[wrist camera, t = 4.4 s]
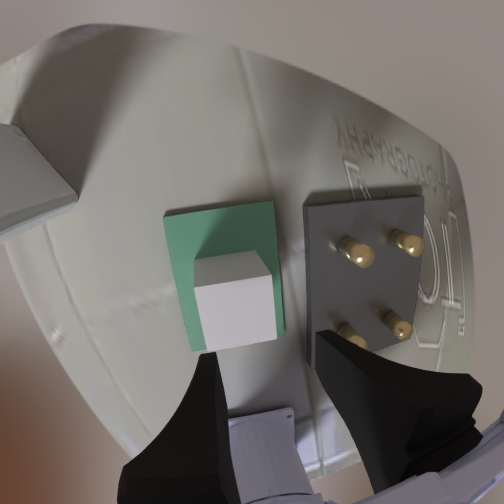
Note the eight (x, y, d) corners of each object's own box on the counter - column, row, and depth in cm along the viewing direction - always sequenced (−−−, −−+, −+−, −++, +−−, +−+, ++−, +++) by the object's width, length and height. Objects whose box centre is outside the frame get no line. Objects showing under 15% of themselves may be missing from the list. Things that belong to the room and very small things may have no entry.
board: (281, 329, 23) (302, 371, 18) (191, 345, 22) (192, 392, 17) (270, 199, 20) (295, 213, 15) (164, 215, 19) (152, 234, 14)
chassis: (404, 333, 25) (425, 352, 22) (307, 362, 24) (322, 388, 20) (416, 194, 21) (445, 201, 18) (302, 205, 20) (323, 214, 16)
